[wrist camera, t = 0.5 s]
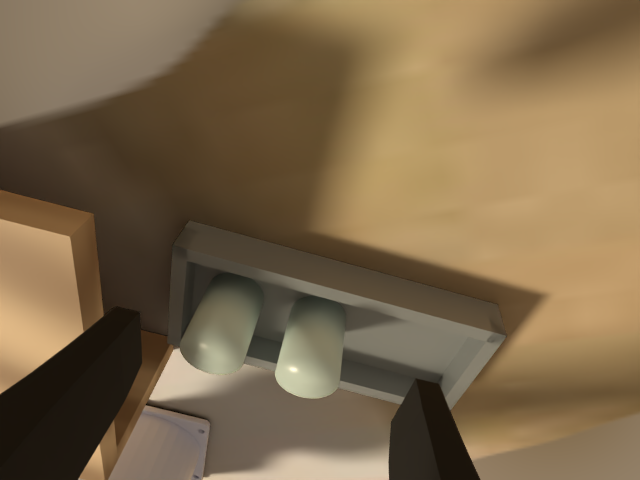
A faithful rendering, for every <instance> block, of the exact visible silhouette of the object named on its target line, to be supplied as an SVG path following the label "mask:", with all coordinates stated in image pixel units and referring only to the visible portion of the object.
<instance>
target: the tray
mask: <svg viewBox="0 0 640 480" xmlns="http://www.w3.org/2000/svg"><path fill="white" fill-rule="evenodd" d="M506 337H507V334H506V331H505V327H504V324H503V321H502V317H501V314H500V310H499V307H498V304H494V303H491V302H487V301H483V300H480V299H476V298H472V297H469V296H465V295H461V294H458V293H454V292H450V291H447V290H443V289H439V288H436V287H432V286H428V285H425V284H421V283H417V282H414V281H410V280H406V279H403V278H399V277H395V276H392V275H388V274H384V273H381V272H377V271H373V270H370V269H366V268H362V267H359V266H355V265H351V264H348V263H344V262H340V261H337V260H333V259H330V258H326V257H322V256H319V255H315V254H311V253H308V252H304V251H300V250H297V249H293V248H289V247H286V246H282V245H278V244H275V243H271V242H267V241H264V240H260V239H256V238H253V237H249V236H245V235H242V234H238V233H234V232H231V231H227V230H223V229H220V228H216V227H212V226H209V225H205V224H201V223H198V222H194V221H190V220H189V221H188V223H187V224H186V226H185V227H184V229H183V230H182V232H181V233H180V235H179V236H178V238H177V239H176V241H175V242H174V244H173V245H172V263H171V282H170V300H169V319H168V337H167V344H171V345H175V346H179V347H180V351H181V354H182V355H183V357H184V358H185V360H186V361H187V362H188V363H190V364H191V365H192V366H194V367H195V368H197V369H199V370H201V371H204V372H207V373H210V374H216V375H226V374H231V373H234V372H236V371H238V370H239V369H240V368H241V367H242V365H243V363H244V364H247V365H251V366H255V367H259V368H263V369H267V370H270V371H274V372H275V377H276V380H277V382H278V384H279V385H280V386H281V387H282V388H283V389H284V390H286V391H287V392H289V393H291V394H293V395H296V396H299V397H303V398H310V399H316V398H323V397H326V396H329V395H331V394H332V393H334V392H335V391H336V390H337V388H339V389H343V390H347V391H350V392H354V393H358V394H362V395H366V396H370V397H373V398H377V399H381V400H385V401H389V402H392V403H396V404H400V405H401V404H402V402H403V400H404V398H405V396H406V395H407V393H408V391H409V389H410V388H411V386H412V384H413V382H414V380H415V379H416V378H417V379H421V380H425V381H429V382H433V383H438V384H439V385H440V387H441V389H442V391H443V394H444V396H445V399H446V401H447V404H448V407H449V409H450V411H451V409H452V408H453V407H454V405H455V404H456V403H457V401H458V400H459V399H460V397H461V396H462V395H463V393H464V392H465V391H466V389H467V388H468V387H469V386H470V384H471V383H472V382H473V380H474V379H475V378H476V376H477V375H478V374H479V372H480V371H481V370H482V368H483V367H484V366H485V364H486V363H487V362H488V361H489V359H490V358H491V357H492V355H493V354H494V353H495V351H496V350H497V349H498V347H499V346H500V345H501V343H502V342H503V341H504V339H505V338H506Z"/></svg>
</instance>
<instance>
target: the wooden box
mask: <svg viewBox="0 0 640 480" xmlns="http://www.w3.org/2000/svg"><path fill="white" fill-rule="evenodd" d="M103 316H104V314H103V304H102V294H101V283H100V273H99V263H98V253H97V243H96V233H95V223H94V214H93V213H89V212H85V211H81V210H77V209H73V208H69V207H65V206H62V205H58V204H54V203H50V202H46V201H42V200H38V199H34V198H30V197H26V196H22V195H19V194H15V193H11V192H7V191H3V190H0V394H1V393H2V392H4V391H5V390H7V389H8V388H9V387H11V386H12V385H14V384H15V383H17V382H18V381H20V380H21V379H22V378H24V377H25V376H27V375H28V374H30V373H31V372H32V371H34V370H35V369H36V368H38V367H39V366H40V365H42V364H43V363H44V362H46V361H47V360H48V359H50V358H51V357H52V356H54V355H55V354H56V353H58V352H59V351H60V350H62V349H63V348H64V347H65V346H67V345H68V344H69V343H71V342H72V341H73V340H74V339H76V338H77V337H78V336H79V335H81V334H82V333H83V332H84V331H86V330H87V329H88V328H89V327H91V326H92V325H93V324H94V323H95V322H97V321H98V320H99V319H100V318H102V317H103ZM167 337H168V336H164V335H160V334H156V333H152V332H148V331H144V330H141V344H142V365H141V367H140V369H139V371H138V374H137V376H136V378H135V380H134V383H133V385H132V387H131V389H130V391H129V393H128V396H127V398H126V400H125V402H124V403H123V405H122V407H121V409H120V410H119V412H118V414H117V415H116V417H115V419H114V420H113V422H112V424H111V425H110V427H109V429H108V430H107V432H106V434H105V435H104V437H103V439H102V440H101V442H100V444H99V445H98V447H97V449H96V450H95V452H94V454H93V455H92V457H91V459H90V460H89V462H88V464H87V465H86V467H85V469H84V470H83V472H82V474H81V475H80V477H79V479H83V480H108V479H109V477H110V475H111V473H112V471H113V469H114V467H115V465H116V463H117V461H118V459H119V457H120V455H121V453H122V451H123V449H124V447H125V445H126V443H127V441H128V439H129V437H130V435H131V433H132V431H133V429H134V427H135V425H136V423H137V421H138V419H139V417H140V415H141V413H142V411H143V409H144V407H145V405H146V403H147V401H148V399H149V397H150V395H151V393H152V391H153V389H154V387H155V385H156V383H157V381H158V380H159V378H160V376H161V374H162V372H163V370H164V368H165V366H166V364H167V362H168V360H169V358H170V356H171V354H172V352H173V345H171V344H167Z"/></svg>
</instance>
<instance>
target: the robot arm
mask: <svg viewBox="0 0 640 480" xmlns="http://www.w3.org/2000/svg"><path fill="white" fill-rule="evenodd" d="M141 365H142V344H141V322H140V312H137V311H133V310H129V309H125V308H121V307H114V308H113V309H111V310H110V311H109V312H108V313H106V314H105V315H104V316H103V317H102V318H100V319H99V320H98V321H97V322H95V323H94V324H93V325H92V326H91V327H89V328H88V329H87V330H86V331H84V332H83V333H82V334H81V335H79V336H78V337H77V338H76V339H74V340H73V341H72V342H71V343H69V344H68V345H67V346H65V347H64V348H63V349H62V350H60V351H59V352H58V353H56V354H55V355H54V356H52V357H51V358H50V359H48V360H47V361H46V362H44V363H43V364H42V365H40V366H39V367H38V368H36V369H35V370H34V371H32V372H31V373H30V374H28V375H27V376H25V377H24V378H22V379H21V380H20V381H18V382H17V383H15V384H14V385H12V386H11V387H9V388H8V389H7V390H5V391H4V392H2V393H1V394H0V480H83V479H79V477H80V475H81V474H82V472H83V470H84V469H85V467H86V465H87V464H88V462H89V460H90V459H91V457H92V455H93V454H94V452H95V450H96V449H97V447H98V445H99V444H100V442H101V440H102V439H103V437H104V435H105V434H106V432H107V430H108V429H109V427H110V425H111V424H112V422H113V420H114V419H115V417H116V415H117V414H118V412H119V410H120V409H121V407H122V405H123V403H124V402H125V400H126V398H127V396H128V393H129V391H130V389H131V387H132V385H133V383H134V380H135V378H136V376H137V374H138V371H139V369H140V367H141ZM209 431H210V423H209V422H208V421H207V420H205V419H201V418H197V417H192V416H188V415H184V414H180V413H176V412H172V411H168V410H164V409H159V408H155V407H151V406H147V405H145V407H144V409H143V411H142V413H141V415H140V417H139V419H138V421H137V423H136V425H135V427H134V429H133V431H132V433H131V435H130V437H129V439H128V441H127V443H126V445H125V447H124V449H123V451H122V453H121V455H120V457H119V459H118V461H117V463H116V465H115V467H114V469H113V471H112V473H111V475H110V477H109V479H108V480H203V473H204V466H205V459H206V452H207V445H208V438H209ZM389 480H480V478H479V476H478V474H477V472H476V469H475V467H474V465H473V463H472V461H471V458H470V456H469V454H468V452H467V449H466V447H465V445H464V443H463V440H462V438H461V436H460V433H459V431H458V429H457V426H456V424H455V421H454V419H453V416H452V414H451V412H450V409H449V407H448V404H447V401H446V399H445V396H444V394H443V391H442V389H441V387H440V385H439V384H438V383H433V382H429V381H425V380H421V379H417V378H416V379H415V380H414V382H413V384H412V386H411V388H410V389H409V391H408V393H407V395H406V396H405V398H404V400H403V402H402V404H401V405H400V407H399V409H398V411H397V413H396V414H395V416H394V418H393V420H392V421H391V433H390V447H389Z"/></svg>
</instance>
